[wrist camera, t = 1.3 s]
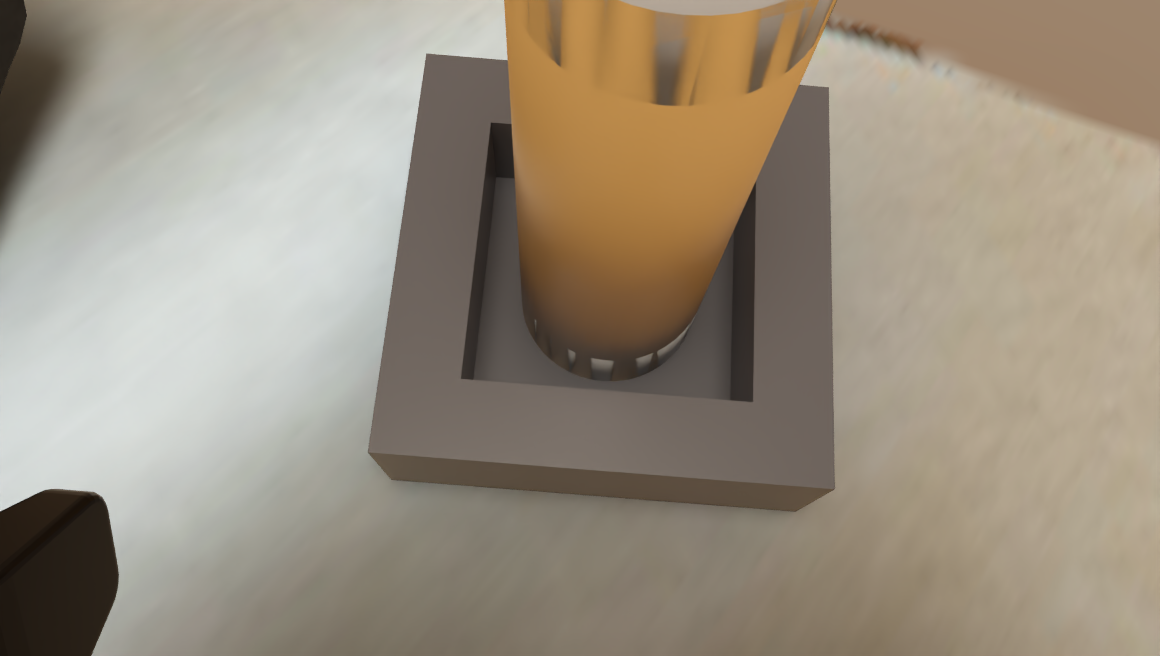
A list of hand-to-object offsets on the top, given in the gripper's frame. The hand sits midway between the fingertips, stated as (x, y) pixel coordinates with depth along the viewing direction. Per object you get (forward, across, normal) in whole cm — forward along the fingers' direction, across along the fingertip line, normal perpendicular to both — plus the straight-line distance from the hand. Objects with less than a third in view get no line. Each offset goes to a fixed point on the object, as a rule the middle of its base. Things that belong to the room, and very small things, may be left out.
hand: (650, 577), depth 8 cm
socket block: (+14, 0, +4) cm, 15 cm away
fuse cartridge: (+14, 0, +4) cm, 15 cm away
